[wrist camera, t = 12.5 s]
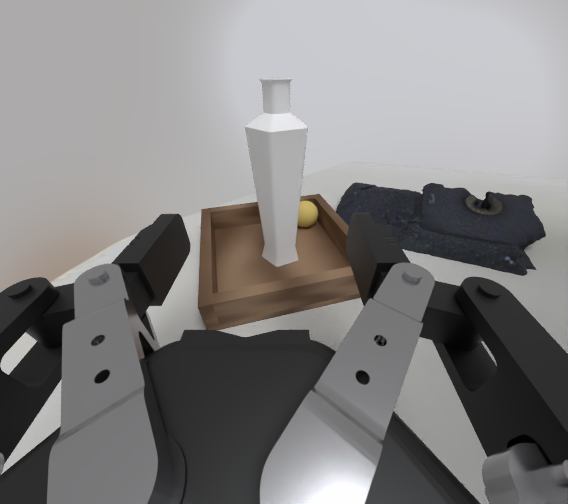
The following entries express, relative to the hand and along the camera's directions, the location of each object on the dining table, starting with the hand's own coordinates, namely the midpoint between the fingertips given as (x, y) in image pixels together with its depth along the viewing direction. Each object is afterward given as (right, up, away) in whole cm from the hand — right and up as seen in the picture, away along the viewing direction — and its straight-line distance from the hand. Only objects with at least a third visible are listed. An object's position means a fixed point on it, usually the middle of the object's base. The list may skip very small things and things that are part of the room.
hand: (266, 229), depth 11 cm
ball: (+3, +2, +18) cm, 18 cm away
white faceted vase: (+1, -1, +14) cm, 14 cm away
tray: (0, -2, +14) cm, 14 cm away
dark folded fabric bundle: (+19, +2, +20) cm, 28 cm away
